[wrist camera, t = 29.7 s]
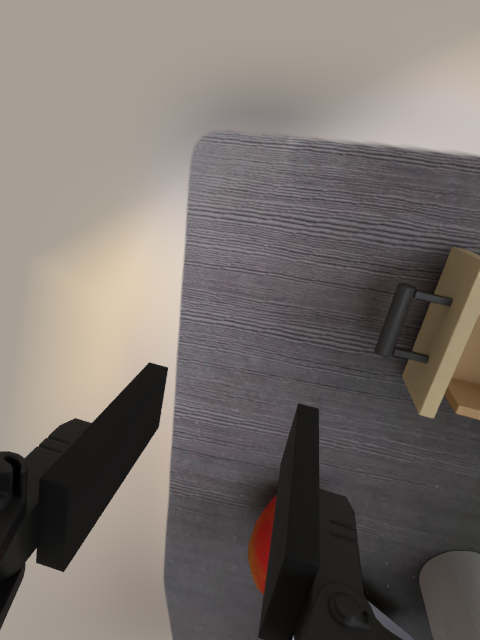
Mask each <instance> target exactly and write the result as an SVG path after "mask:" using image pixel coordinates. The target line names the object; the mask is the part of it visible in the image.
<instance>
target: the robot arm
mask: <svg viewBox="0 0 480 640" xmlns="http://www.w3.org/2000/svg"><path fill="white" fill-rule="evenodd" d="M167 371H168V368H167V367H164V366H160V365H156V364H152V363H148V365H146V367H145V368H144V369H143V370H142V371H141V372H140V373H139V374H138V375H137V376H136V377H135V378H134V379H133V380H132V381H131V383H129V385H128V386H127V387H126V388H125V389H124V390H123V391H122V392H121V393H120V394H119V395H118V396H117V397H116V398H115V400H113V401H112V402H111V404H110V405H109V406H108V407H107V408H106V409H105V410H104V411H103V412H102V413H101V414H100V415H99V416H98V418H96V420H95V421H94V422H93V423H89V422H86V421H83V420H79V419H76V418H75V419H73V420H71V421H68V422H66V423H64V424H62V425H60V426H59V427H58V428H56V430H54V431H53V432H52V433H51V434H50V435H49V437H48V438H46V439H45V440H44V441H43V442H42V443H41V444H40V445H39V447H36V448H35V449H34V450H33V451H32V452H31V453H30V454H29V455H28V456H27V457H25V458H23V457H22V456H21V455H19V454H16V453H12V452H9V451H8V452H0V629H1V627H2V625H3V622H4V620H5V618H6V616H7V613H8V611H9V609H10V606H11V604H12V602H13V600H14V597H15V595H16V593H17V591H18V588H19V586H20V584H21V582H22V579H23V576H24V571H25V562H26V561H27V559H28V558H29V557H30V556H31V554H32V553H33V552H34V550H35V549H36V548H37V559H36V563H39V564H42V565H44V566H47V567H51V568H53V569H56V570H59V571H62V572H64V571H65V569H66V568H67V566H68V565H69V563H70V561H71V560H72V559H73V557H74V556H75V554H76V553H77V551H78V549H79V548H80V546H81V545H82V543H83V542H84V540H85V539H86V537H87V536H88V534H89V533H90V531H91V530H92V528H93V527H94V525H95V524H96V522H97V520H98V519H99V517H100V516H101V514H102V513H103V511H104V510H105V508H106V506H107V505H108V504H109V502H110V500H111V499H112V498H113V496H114V494H115V493H116V491H117V490H118V488H119V487H120V485H121V484H122V482H123V481H124V479H125V478H126V476H127V475H128V473H129V472H130V470H131V469H132V467H133V465H134V464H135V462H136V461H137V459H138V458H139V456H140V455H141V453H142V452H143V450H144V449H145V447H146V446H147V444H148V443H149V441H150V439H151V438H152V436H153V435H154V433H155V432H156V430H157V429H158V427H159V422H160V415H161V408H162V402H163V396H164V390H165V384H166V377H167ZM357 540H358V539H357V530H356V521H355V513H354V510H353V509H352V507H351V505H350V503H349V501H348V500H347V498H346V497H345V496H341V495H338V494H335V493H331V492H328V491H324V490H321V489H319V409H317V408H314V407H310V406H306V405H303V404H299V403H298V406H297V410H296V413H295V417H294V420H293V423H292V427H291V430H290V434H289V437H288V441H287V444H286V447H285V451H284V454H283V458H282V461H281V467H280V474H279V482H278V490H277V497H276V505H275V513H274V520H273V528H272V536H271V544H270V551H269V559H268V567H267V574H266V582H265V590H264V597H263V605H262V613H261V620H260V628H259V636H258V638H261V639H264V640H292V639H293V636H294V640H403V639H401V638H399V637H398V636H396V635H395V634H393V633H392V632H391V631H390V630H388V629H387V628H386V627H384V626H383V625H382V624H381V623H380V621H379V620H378V619H377V618H376V617H375V614H374V612H373V609H372V607H371V605H370V603H369V602H368V601H367V600H366V598H365V595H364V591H363V583H362V574H361V565H360V557H359V548H358V543H357Z"/></svg>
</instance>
